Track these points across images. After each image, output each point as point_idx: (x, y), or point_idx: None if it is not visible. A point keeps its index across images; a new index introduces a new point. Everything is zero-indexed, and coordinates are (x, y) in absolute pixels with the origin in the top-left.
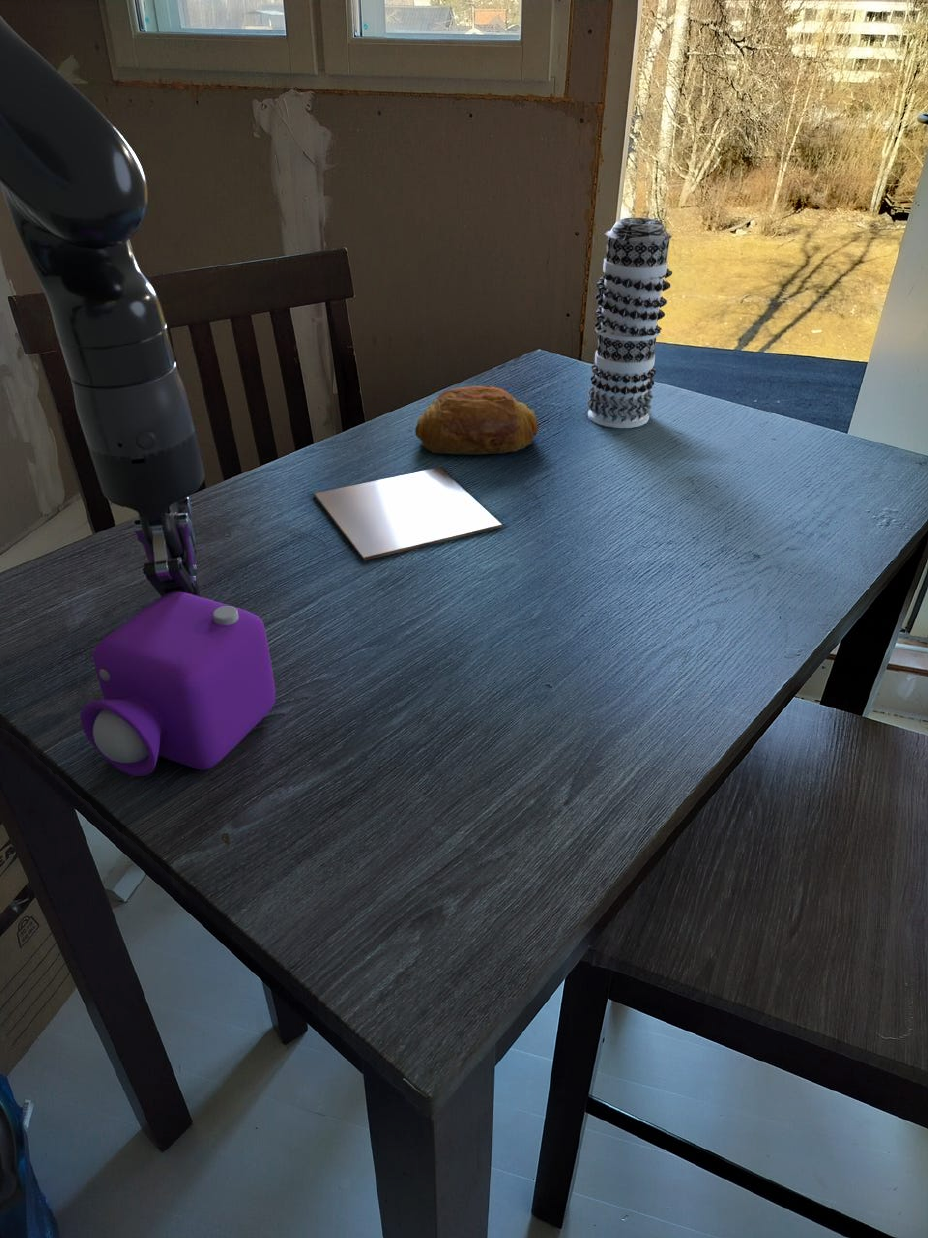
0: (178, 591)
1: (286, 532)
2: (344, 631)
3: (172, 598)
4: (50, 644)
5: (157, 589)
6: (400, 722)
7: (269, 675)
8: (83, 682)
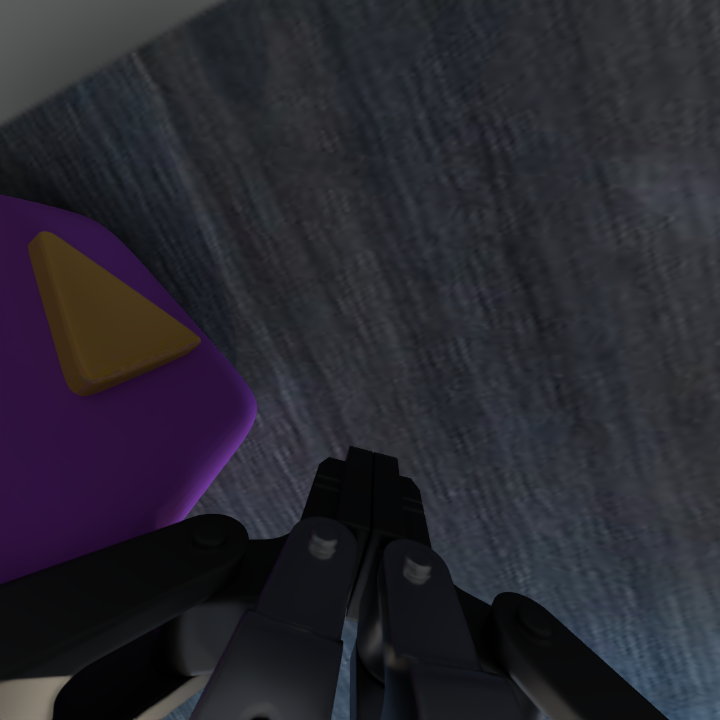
0: None
1: (713, 683)
2: None
3: None
4: (576, 99)
5: (42, 577)
6: None
7: None
8: (361, 168)
